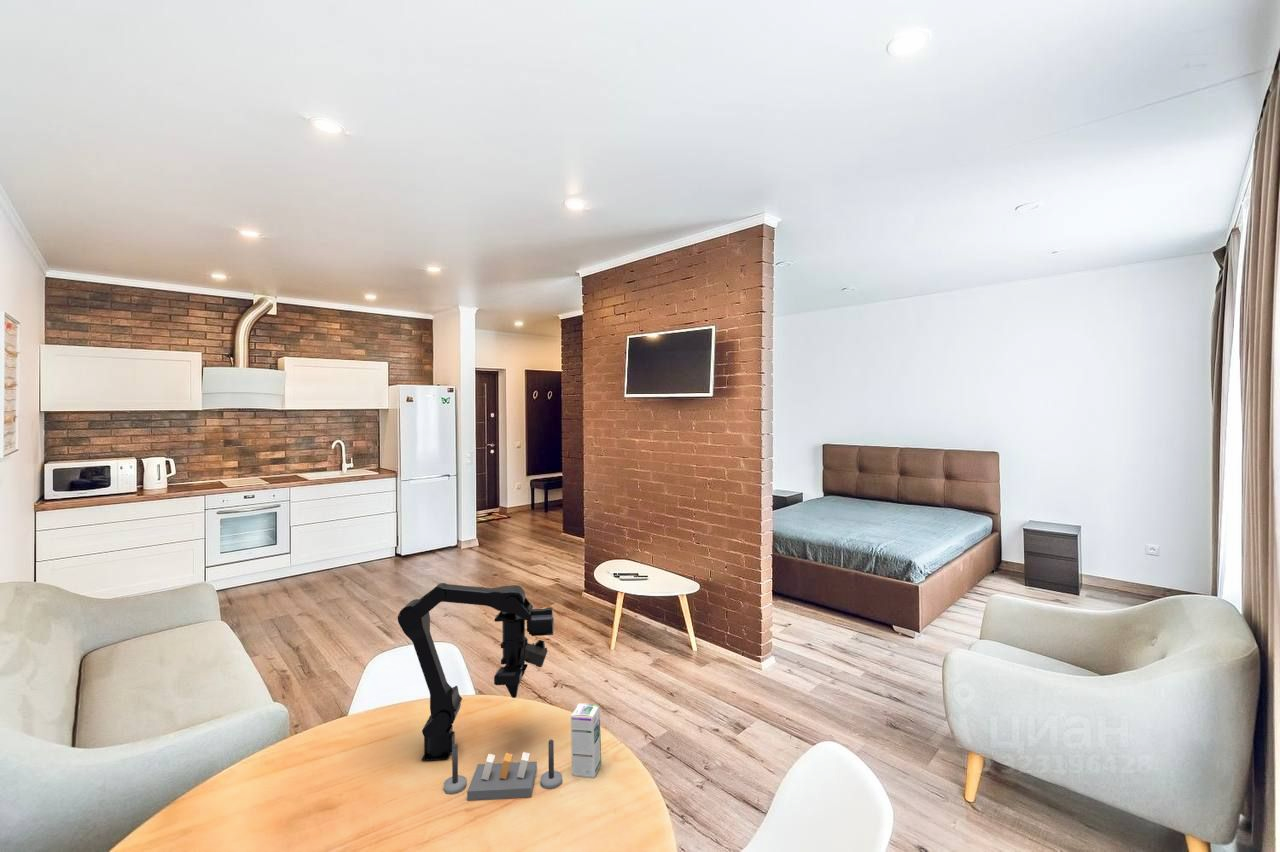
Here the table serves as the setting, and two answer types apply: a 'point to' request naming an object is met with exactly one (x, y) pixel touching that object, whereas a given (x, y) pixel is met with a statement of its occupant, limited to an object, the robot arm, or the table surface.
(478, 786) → the panel
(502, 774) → the orange rectangular block
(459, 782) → the stand
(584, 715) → the syrup box
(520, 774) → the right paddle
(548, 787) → the stand
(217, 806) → the table surface
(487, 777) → the left paddle
